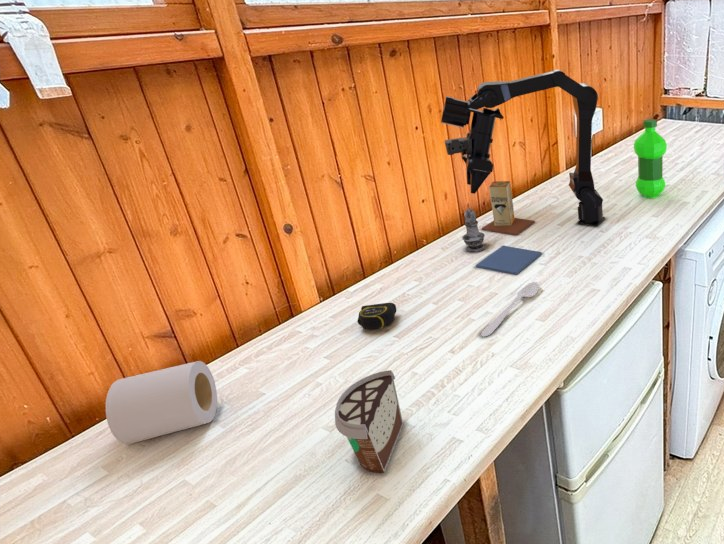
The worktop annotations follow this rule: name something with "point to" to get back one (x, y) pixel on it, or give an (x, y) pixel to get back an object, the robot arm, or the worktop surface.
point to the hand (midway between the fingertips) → (470, 188)
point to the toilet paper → (161, 402)
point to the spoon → (524, 292)
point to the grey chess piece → (472, 233)
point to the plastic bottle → (650, 160)
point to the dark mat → (510, 227)
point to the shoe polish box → (502, 203)
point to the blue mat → (509, 259)
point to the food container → (371, 419)
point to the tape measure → (376, 316)
